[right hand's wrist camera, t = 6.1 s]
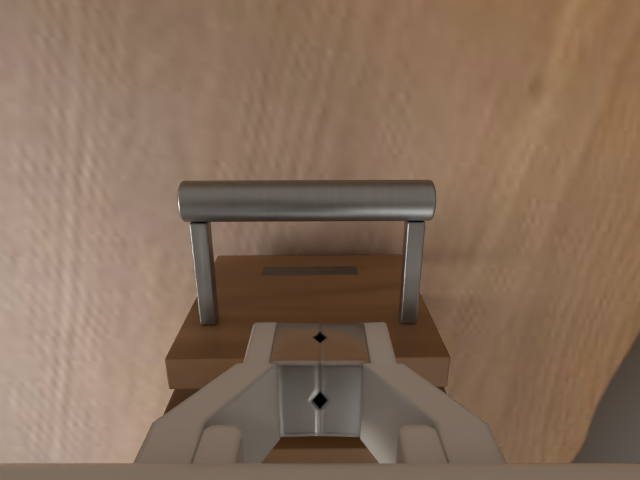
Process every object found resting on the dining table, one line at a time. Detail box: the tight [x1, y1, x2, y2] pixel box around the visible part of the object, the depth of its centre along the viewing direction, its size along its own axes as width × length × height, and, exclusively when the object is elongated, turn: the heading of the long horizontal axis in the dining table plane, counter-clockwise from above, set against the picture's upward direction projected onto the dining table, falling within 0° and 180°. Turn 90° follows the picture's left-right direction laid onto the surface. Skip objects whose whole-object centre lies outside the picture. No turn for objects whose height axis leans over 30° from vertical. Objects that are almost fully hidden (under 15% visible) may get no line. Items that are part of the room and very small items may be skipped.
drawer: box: [165, 180, 450, 389], centre depth 20 cm, size 21×9×9 cm, turn 0°
